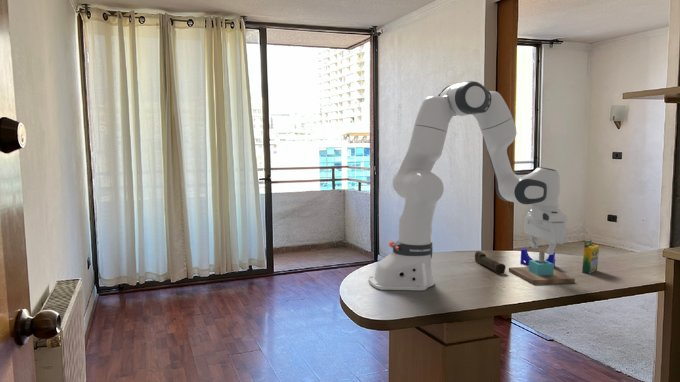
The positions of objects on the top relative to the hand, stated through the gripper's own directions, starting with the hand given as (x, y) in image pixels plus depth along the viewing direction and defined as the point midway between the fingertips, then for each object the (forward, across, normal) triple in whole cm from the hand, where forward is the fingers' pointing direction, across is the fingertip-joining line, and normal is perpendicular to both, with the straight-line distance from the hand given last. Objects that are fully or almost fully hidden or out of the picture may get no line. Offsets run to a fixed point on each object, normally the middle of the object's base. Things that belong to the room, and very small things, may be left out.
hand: (542, 251), depth 176 cm
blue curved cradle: (+10, -15, +8) cm, 20 cm away
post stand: (+10, 0, 0) cm, 10 cm away
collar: (+8, 0, 0) cm, 8 cm away
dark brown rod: (+10, -15, -14) cm, 22 cm away
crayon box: (+10, -4, +23) cm, 25 cm away
